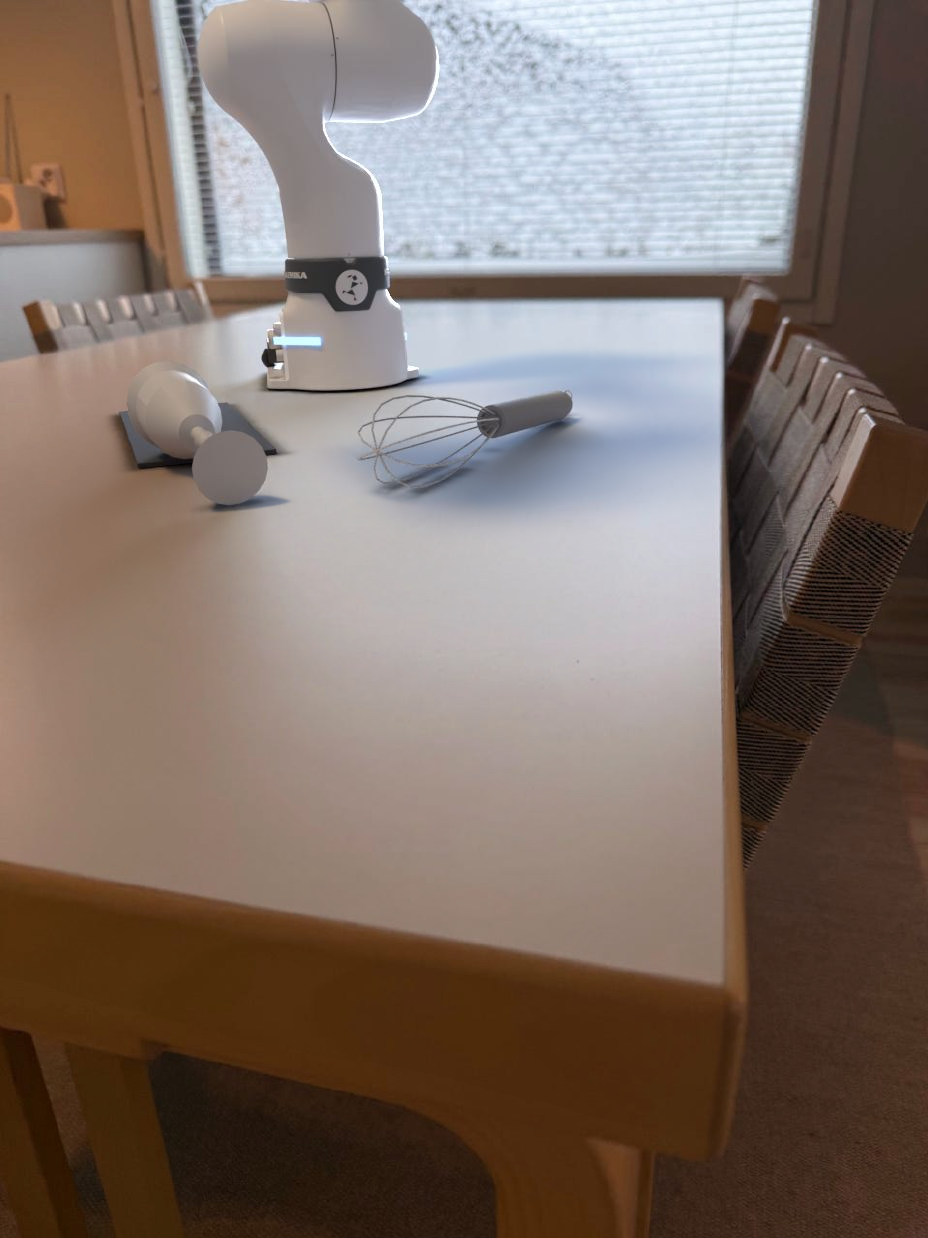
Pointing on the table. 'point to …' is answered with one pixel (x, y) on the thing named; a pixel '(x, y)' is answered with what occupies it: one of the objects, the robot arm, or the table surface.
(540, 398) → the kitchen whisk
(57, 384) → the table surface
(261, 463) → the chalice
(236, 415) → the mat
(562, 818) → the table surface
